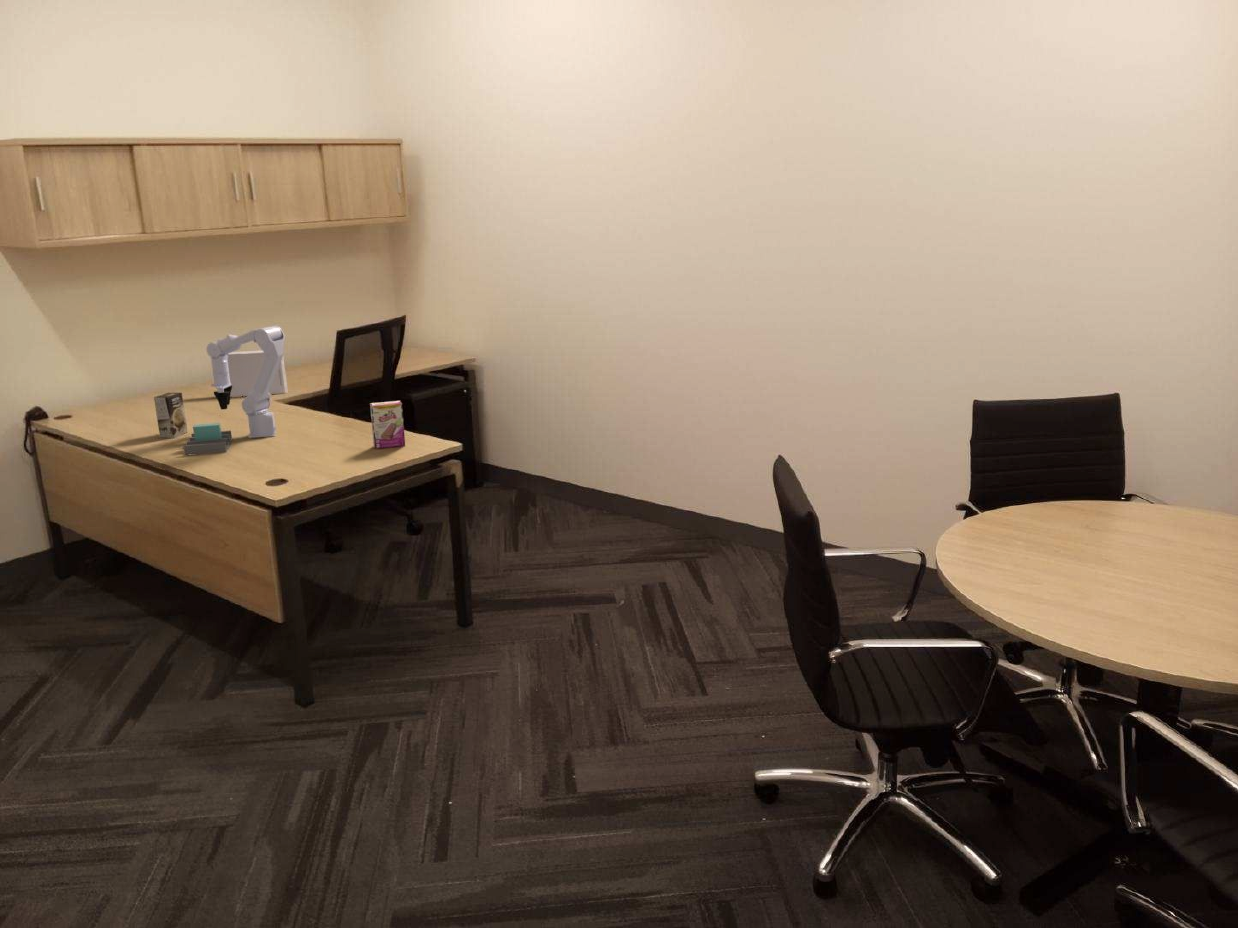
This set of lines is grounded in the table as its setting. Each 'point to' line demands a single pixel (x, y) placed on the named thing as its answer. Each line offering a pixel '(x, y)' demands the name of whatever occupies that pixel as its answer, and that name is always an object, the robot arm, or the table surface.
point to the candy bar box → (387, 424)
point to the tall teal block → (207, 431)
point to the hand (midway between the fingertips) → (225, 406)
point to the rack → (208, 444)
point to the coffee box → (170, 415)
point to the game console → (252, 373)
